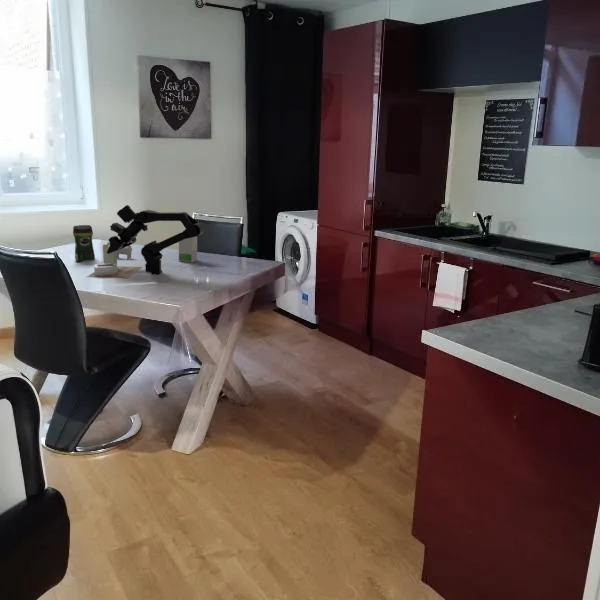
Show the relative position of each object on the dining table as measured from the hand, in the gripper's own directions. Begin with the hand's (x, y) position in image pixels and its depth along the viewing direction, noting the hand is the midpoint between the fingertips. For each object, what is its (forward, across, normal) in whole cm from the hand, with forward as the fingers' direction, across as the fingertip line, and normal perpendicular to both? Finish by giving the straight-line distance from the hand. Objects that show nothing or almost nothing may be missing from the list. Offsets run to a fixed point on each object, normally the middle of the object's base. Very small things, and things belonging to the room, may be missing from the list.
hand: (112, 251), depth 278 cm
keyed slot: (+4, +12, +8) cm, 14 cm away
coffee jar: (+23, -16, -10) cm, 30 cm away
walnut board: (+3, +7, +10) cm, 12 cm away
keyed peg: (+7, 0, +5) cm, 8 cm away
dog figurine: (+13, -26, +1) cm, 29 cm away
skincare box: (-12, -32, +26) cm, 43 cm away
